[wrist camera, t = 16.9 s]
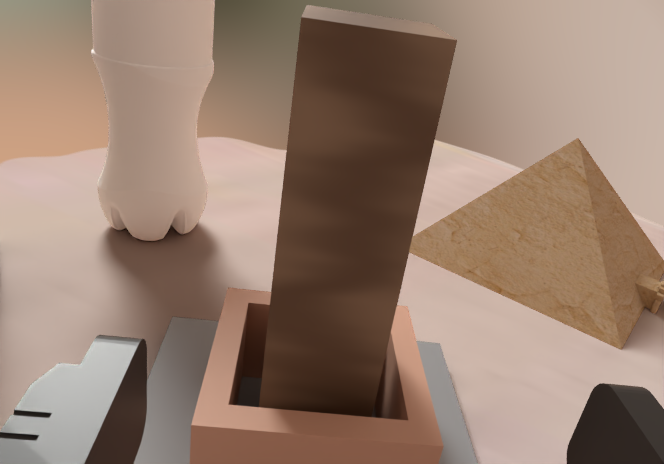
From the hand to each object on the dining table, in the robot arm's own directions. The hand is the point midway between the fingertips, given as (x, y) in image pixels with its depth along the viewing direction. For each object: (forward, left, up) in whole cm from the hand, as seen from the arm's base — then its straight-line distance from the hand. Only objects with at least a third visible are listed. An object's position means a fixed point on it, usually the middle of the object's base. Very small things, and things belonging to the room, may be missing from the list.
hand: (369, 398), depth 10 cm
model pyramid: (+18, +30, -12) cm, 37 cm away
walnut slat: (0, +9, -10) cm, 14 cm away
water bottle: (-11, +28, -12) cm, 33 cm away
